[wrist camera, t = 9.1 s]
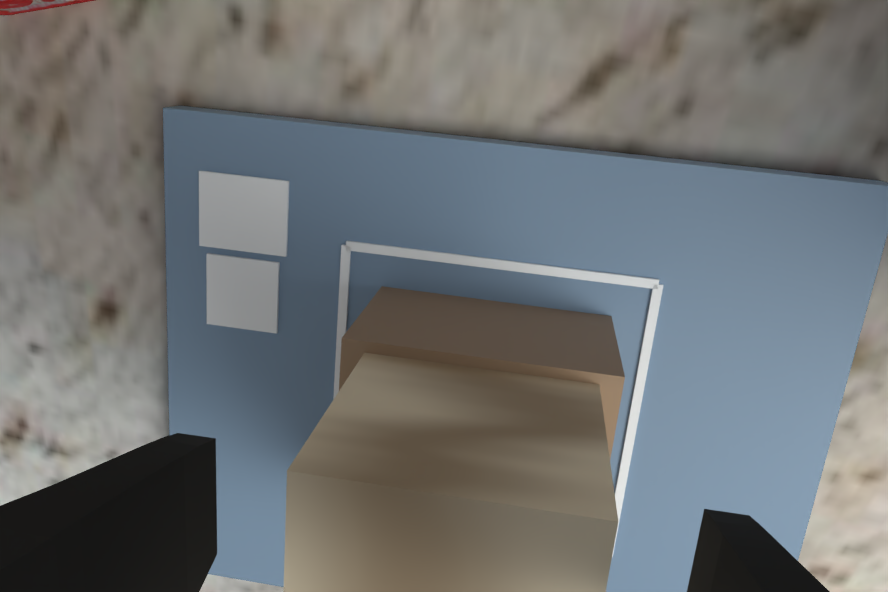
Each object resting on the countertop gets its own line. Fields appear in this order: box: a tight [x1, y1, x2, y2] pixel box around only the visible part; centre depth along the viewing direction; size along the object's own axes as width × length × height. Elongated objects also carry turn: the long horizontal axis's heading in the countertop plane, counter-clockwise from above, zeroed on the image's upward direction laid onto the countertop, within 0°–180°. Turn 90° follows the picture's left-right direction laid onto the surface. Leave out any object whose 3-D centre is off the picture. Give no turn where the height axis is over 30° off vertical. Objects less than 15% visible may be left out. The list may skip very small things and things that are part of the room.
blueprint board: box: [163, 106, 888, 592], centre depth 19 cm, size 18×14×5 cm
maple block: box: [283, 353, 618, 592], centre depth 15 cm, size 5×5×5 cm
